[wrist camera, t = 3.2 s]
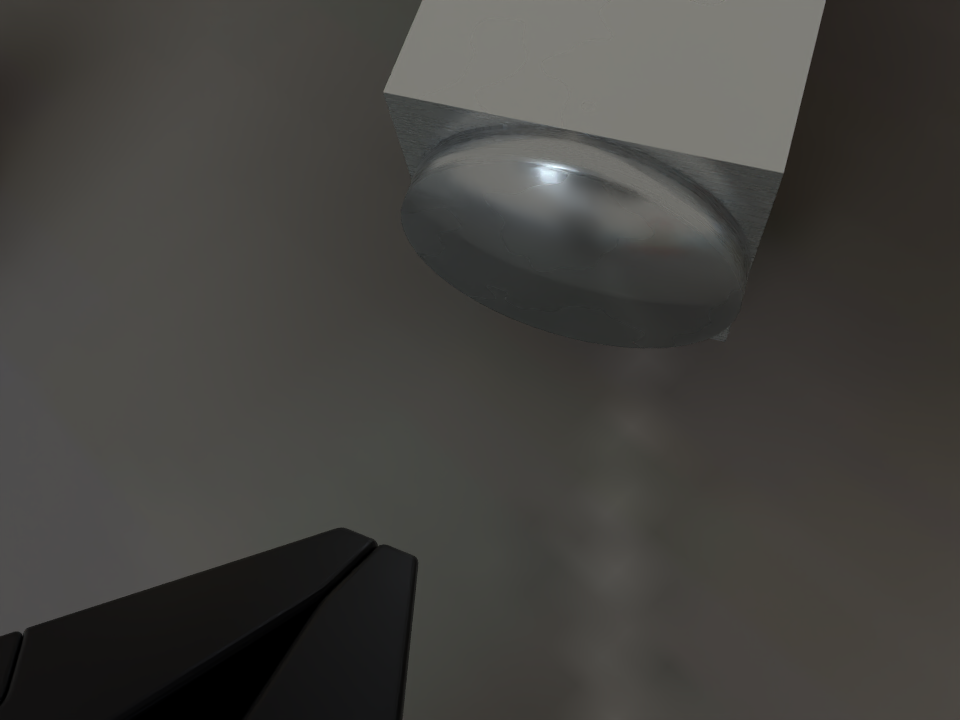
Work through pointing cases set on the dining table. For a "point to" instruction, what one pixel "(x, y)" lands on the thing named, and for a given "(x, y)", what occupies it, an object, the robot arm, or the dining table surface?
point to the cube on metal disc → (599, 155)
